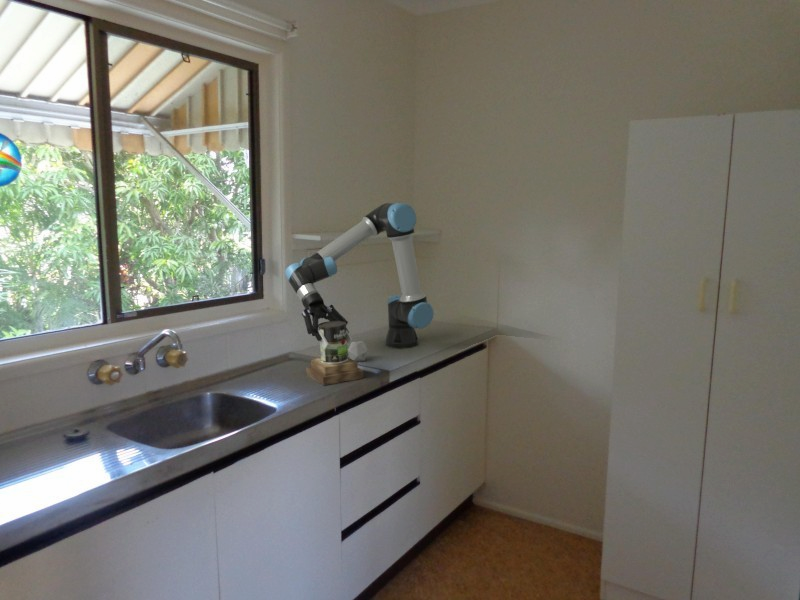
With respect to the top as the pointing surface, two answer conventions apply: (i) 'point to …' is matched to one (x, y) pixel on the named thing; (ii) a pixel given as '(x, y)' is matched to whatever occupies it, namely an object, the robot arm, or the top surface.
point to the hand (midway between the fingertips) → (338, 344)
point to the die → (357, 351)
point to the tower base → (334, 377)
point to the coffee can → (334, 342)
